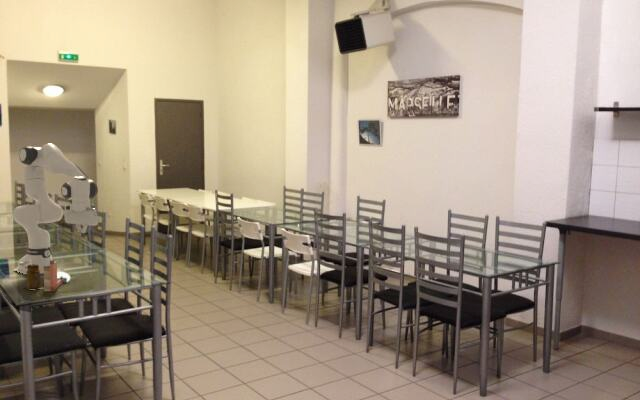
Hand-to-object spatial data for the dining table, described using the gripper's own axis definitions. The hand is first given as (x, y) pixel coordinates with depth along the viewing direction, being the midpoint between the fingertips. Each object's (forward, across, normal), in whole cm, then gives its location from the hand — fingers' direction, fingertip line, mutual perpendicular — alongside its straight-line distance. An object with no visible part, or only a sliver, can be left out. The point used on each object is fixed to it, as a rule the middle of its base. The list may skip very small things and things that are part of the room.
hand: (81, 232), depth 305 cm
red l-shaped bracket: (+27, +4, +14) cm, 31 cm away
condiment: (+27, +13, +20) cm, 36 cm away
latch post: (+27, +4, +19) cm, 34 cm away
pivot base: (+27, +10, +5) cm, 29 cm away
